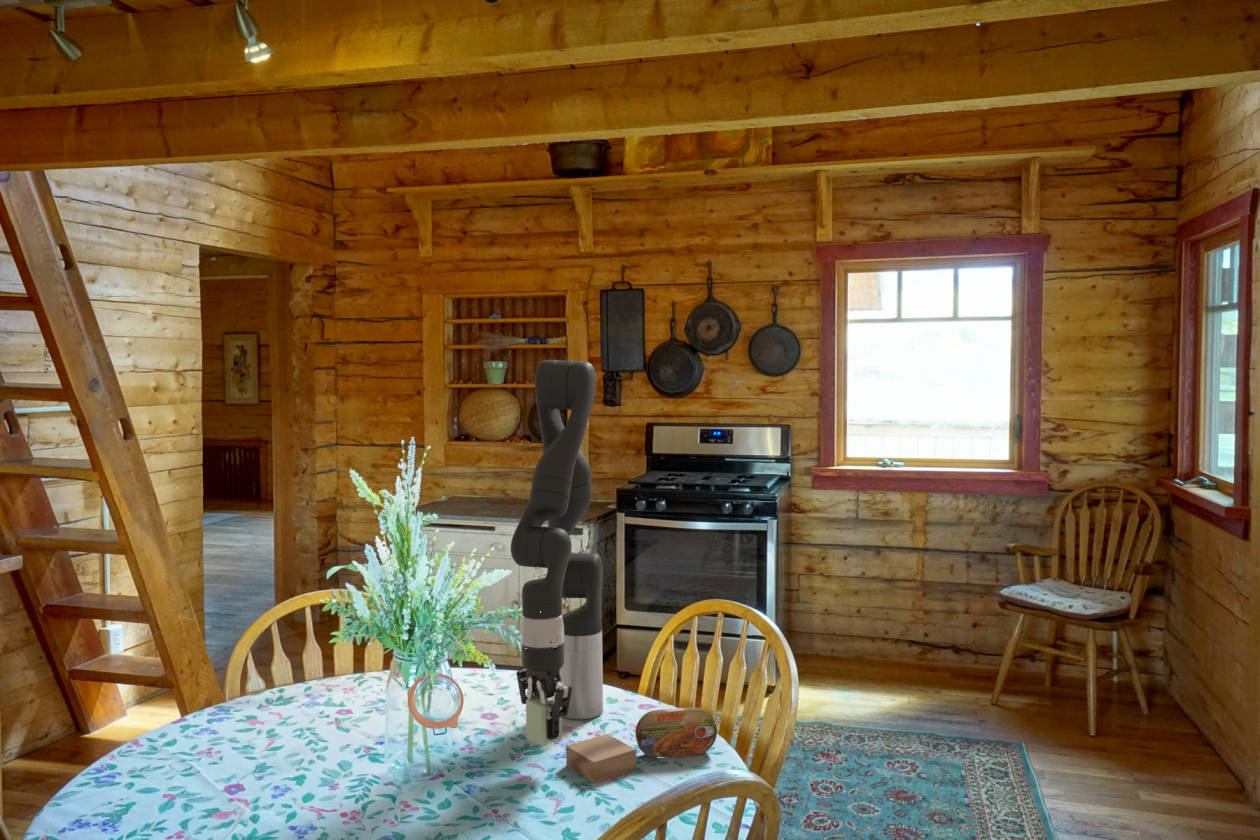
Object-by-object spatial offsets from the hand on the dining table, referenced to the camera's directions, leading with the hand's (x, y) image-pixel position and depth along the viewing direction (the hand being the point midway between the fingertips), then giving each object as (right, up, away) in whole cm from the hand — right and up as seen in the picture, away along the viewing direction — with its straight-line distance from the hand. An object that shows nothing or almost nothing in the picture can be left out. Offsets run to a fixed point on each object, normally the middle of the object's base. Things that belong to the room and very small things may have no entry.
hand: (544, 733), depth 168 cm
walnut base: (+10, -7, +1) cm, 12 cm away
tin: (+24, -6, +7) cm, 25 cm away
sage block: (0, -1, 0) cm, 1 cm away
